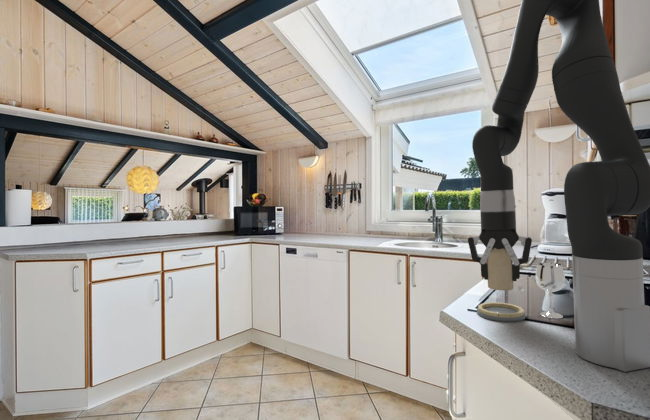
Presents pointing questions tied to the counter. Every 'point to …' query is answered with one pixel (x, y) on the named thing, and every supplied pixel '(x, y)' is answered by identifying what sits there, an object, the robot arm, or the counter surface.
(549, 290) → the wineglass
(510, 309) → the beige ring
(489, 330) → the counter surface
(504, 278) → the candle
